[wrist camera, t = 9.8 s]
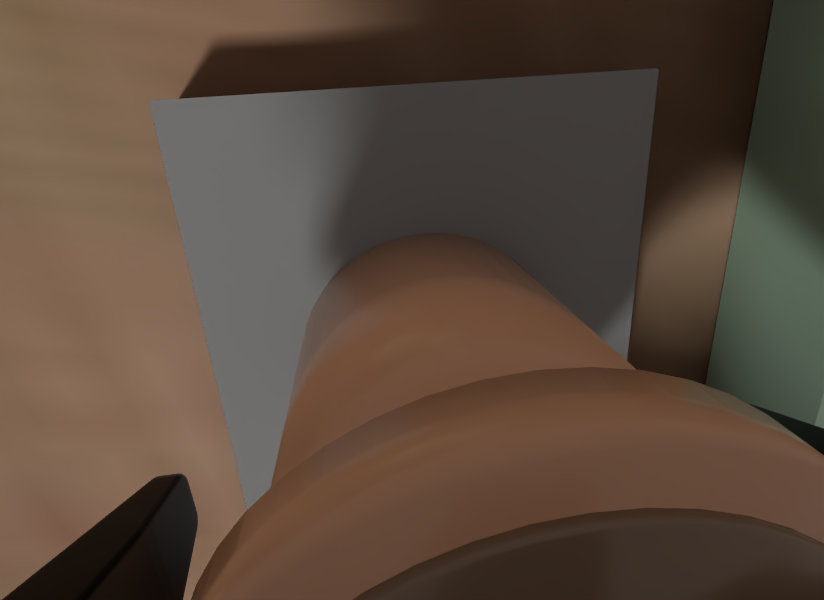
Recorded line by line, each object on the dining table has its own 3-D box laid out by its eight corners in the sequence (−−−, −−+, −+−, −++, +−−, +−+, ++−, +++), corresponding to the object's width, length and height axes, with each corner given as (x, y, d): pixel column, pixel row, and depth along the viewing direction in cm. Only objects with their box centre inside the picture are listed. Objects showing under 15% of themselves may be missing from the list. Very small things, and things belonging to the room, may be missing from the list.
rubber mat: (587, 484, 16) (609, 520, 14) (270, 527, 15) (261, 570, 13) (621, 73, 11) (658, 67, 10) (175, 102, 10) (148, 100, 9)
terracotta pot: (564, 457, 13) (849, 915, 6) (303, 491, 13) (230, 1053, 5) (579, 196, 11) (1130, 396, 3) (254, 224, 10) (-33, 552, 3)
